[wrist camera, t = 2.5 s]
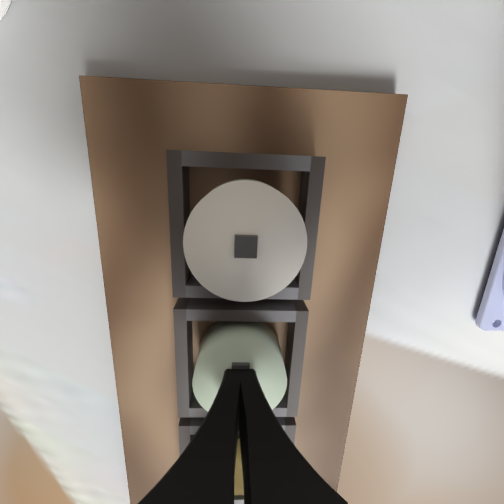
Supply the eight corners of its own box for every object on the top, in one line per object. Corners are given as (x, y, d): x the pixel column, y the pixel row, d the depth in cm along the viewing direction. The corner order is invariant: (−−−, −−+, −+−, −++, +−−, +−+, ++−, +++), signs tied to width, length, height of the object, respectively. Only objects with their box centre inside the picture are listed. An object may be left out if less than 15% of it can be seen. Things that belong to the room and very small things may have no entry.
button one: (298, 180, 12) (315, 184, 9) (290, 279, 13) (302, 305, 10) (192, 176, 11) (179, 179, 9) (194, 276, 13) (183, 303, 10)
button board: (395, 99, 13) (431, 84, 11) (329, 491, 21) (341, 535, 18) (91, 82, 13) (54, 61, 10) (136, 494, 20) (121, 541, 18)
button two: (282, 316, 15) (291, 346, 12) (277, 384, 16) (284, 424, 14) (198, 315, 15) (190, 345, 12) (199, 384, 16) (192, 425, 13)
